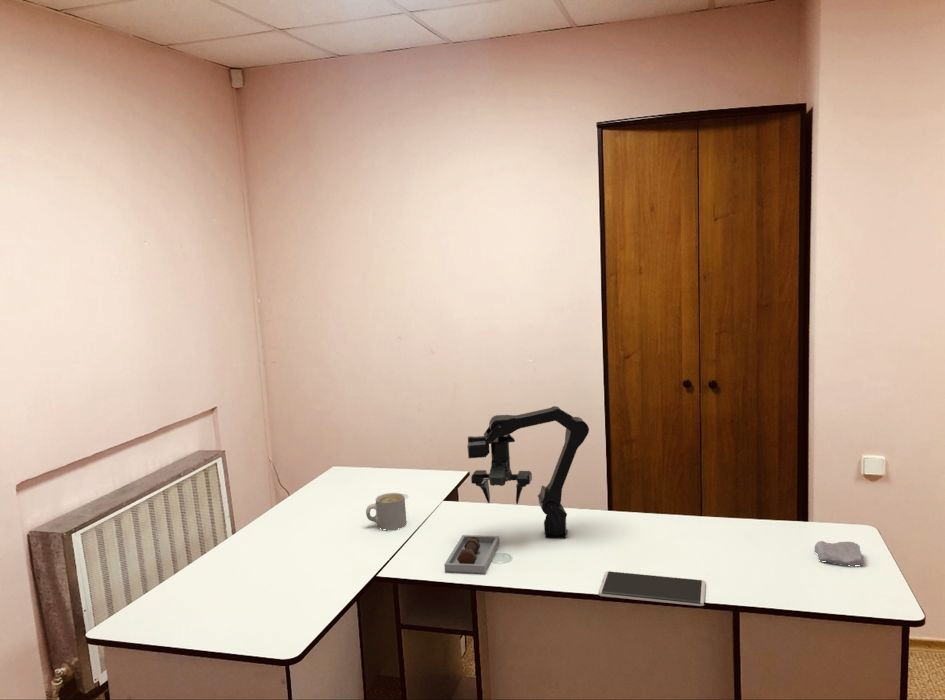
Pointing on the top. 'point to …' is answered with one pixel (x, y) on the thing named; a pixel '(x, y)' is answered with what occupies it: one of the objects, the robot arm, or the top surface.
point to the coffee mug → (389, 511)
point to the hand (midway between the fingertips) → (503, 503)
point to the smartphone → (653, 588)
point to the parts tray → (483, 554)
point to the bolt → (469, 551)
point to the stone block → (839, 553)
